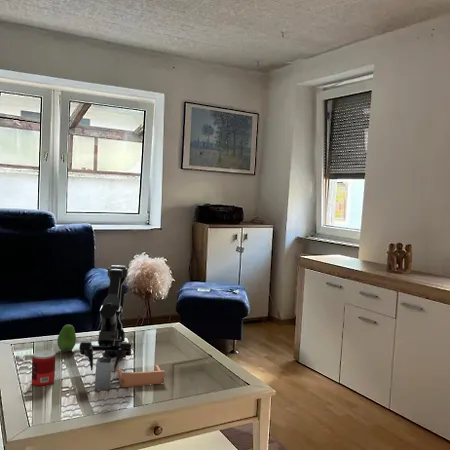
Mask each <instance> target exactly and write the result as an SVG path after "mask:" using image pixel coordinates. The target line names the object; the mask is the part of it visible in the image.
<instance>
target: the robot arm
mask: <svg viewBox="0 0 450 450" xmlns="http://www.w3.org/2000/svg"><path fill="white" fill-rule="evenodd" d="M128 274H129V268H128V267H126V265H118V264H117V265H115V264H112V265H111V267H107V277H108V278H109V286H108V292H107V296H106V297H105V298H104V299H103V304H102V305H100V306H101V307H100V309H99V315H100V322H101V323H100V324H101V325H100V326H101V327H100V331H99V332H98V339H97V344H98V345H92V341H81V342H79V353H80V355H81V356H85V358H87V359H88V361H89V366H90V371H92V372H93V369H94V353H93V352H103V353H102V356H105V357H107V358H112V359H113V358H115V362H114V366H113V371H114V372H116V370H118V366H119V365H120V363H121V361H122V360H123V359H124V358H126V357H129V356H131V355H132V343H130V342H125V339H126V337H125V336H126V332H125V331H124V328H123V323H122V322H121V321H122V320H121V319H120V316H121V314H122V313H123V308H122V305H121V301H122V299H121V298H122V290H123V289H122V286H123V285H124V283H125V282H126V280H127V279H126V278H127V277H128Z"/></svg>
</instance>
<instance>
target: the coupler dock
mask: <svg viewBox="0 0 450 450" xmlns="http://www.w3.org/2000/svg"><path fill="white" fill-rule="evenodd" d="M154 367H155V369H154V370H152V371H149V370H148V371H134V372H133V371H132V372H130V371H129V372H122V368H121V367H120V366H119V367H117V373H116V375H117V378H118V382H119V384H120V387H121V388H132V387H142V386H143V385H146V386H151V385H150V384H160V385H162V384H161V383H164V384H165V373H166V372H165V370H162V369H161V368H160V367H159V365H158V364H155V366H154ZM143 387H144V386H143Z"/></svg>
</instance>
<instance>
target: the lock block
mask: <svg viewBox="0 0 450 450" xmlns="http://www.w3.org/2000/svg"><path fill="white" fill-rule="evenodd" d="M112 359H113V358H111V357H97V359H96V362H95V374H94V375H95V376H94V379H95V380H94V390H99V391H100V390H103V391H107V390H110V386H111V377H112V375H111V374H112V363H113V362H112V361H113V360H112Z"/></svg>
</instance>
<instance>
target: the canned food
mask: <svg viewBox="0 0 450 450" xmlns="http://www.w3.org/2000/svg"><path fill="white" fill-rule="evenodd" d="M56 355H57V354H56V351H55V350H50V349H44V350H43V349H42V350H38V351H35V352H34V353H33V354H32V357H31V360H32V362H31V384H32V386H34V387H47V386H51V385H52V384H54V381H55V374H56V373H55V372H56V359H57V358H56Z"/></svg>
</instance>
